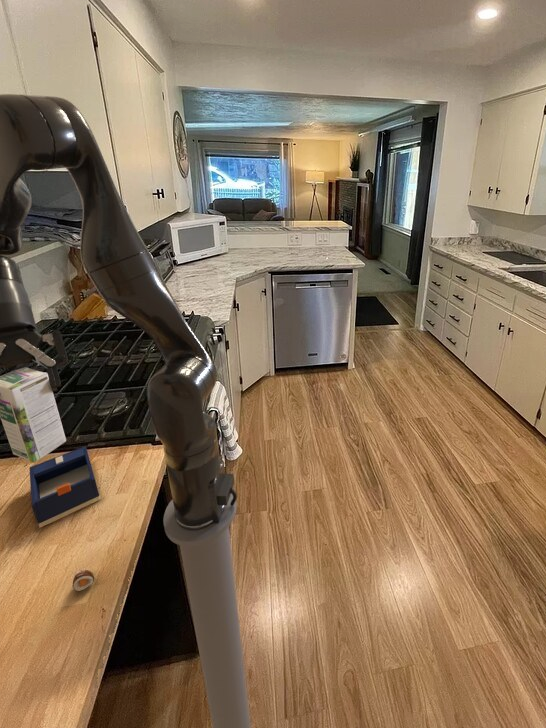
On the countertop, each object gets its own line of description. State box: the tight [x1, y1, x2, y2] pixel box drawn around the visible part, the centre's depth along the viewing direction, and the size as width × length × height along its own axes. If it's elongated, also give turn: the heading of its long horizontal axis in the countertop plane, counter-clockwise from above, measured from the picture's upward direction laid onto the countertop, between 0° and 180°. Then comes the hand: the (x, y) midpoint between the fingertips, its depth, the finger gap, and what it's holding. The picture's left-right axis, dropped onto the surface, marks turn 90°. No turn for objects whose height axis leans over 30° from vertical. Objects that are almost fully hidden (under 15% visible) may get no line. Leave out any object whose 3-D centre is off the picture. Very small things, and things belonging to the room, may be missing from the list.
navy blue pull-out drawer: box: [28, 445, 101, 529], centre depth 73 cm, size 12×10×7 cm
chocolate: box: [71, 568, 96, 592], centre depth 57 cm, size 3×2×4 cm
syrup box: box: [0, 366, 67, 463], centre depth 60 cm, size 6×6×14 cm
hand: (24, 398), depth 58 cm, fingers closed on syrup box, 7 cm apart
